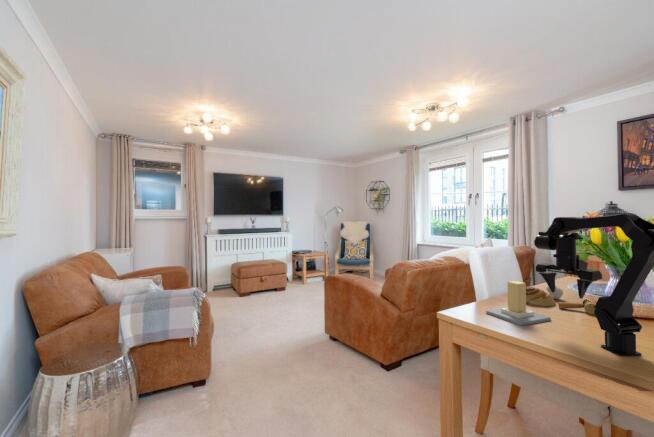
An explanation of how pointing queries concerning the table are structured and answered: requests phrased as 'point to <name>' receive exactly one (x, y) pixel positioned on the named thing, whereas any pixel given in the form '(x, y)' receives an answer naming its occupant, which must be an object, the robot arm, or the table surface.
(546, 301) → the pastry
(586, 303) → the kendama
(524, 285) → the pillar
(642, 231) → the robot arm
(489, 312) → the baseplate
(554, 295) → the frog figurine
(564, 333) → the table surface
